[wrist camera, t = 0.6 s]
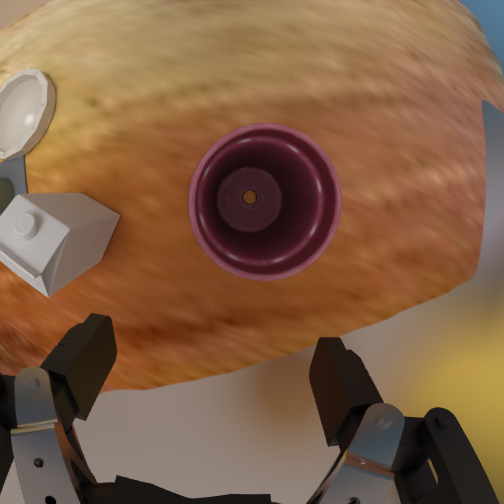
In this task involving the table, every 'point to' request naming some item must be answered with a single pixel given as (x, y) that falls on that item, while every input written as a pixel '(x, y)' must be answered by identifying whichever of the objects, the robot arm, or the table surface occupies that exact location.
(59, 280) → the milk carton
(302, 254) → the plant pot
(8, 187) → the olive bottle
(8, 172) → the mat
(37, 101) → the bowl
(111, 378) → the table surface
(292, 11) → the table surface
